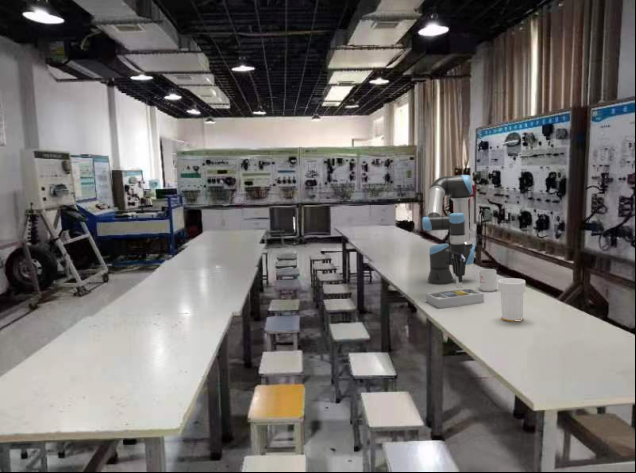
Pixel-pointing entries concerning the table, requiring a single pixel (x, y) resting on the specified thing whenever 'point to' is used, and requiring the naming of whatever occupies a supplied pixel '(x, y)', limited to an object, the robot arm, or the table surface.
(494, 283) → the mug
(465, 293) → the key mustard
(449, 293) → the key slate
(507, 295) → the cup
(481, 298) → the keypad
